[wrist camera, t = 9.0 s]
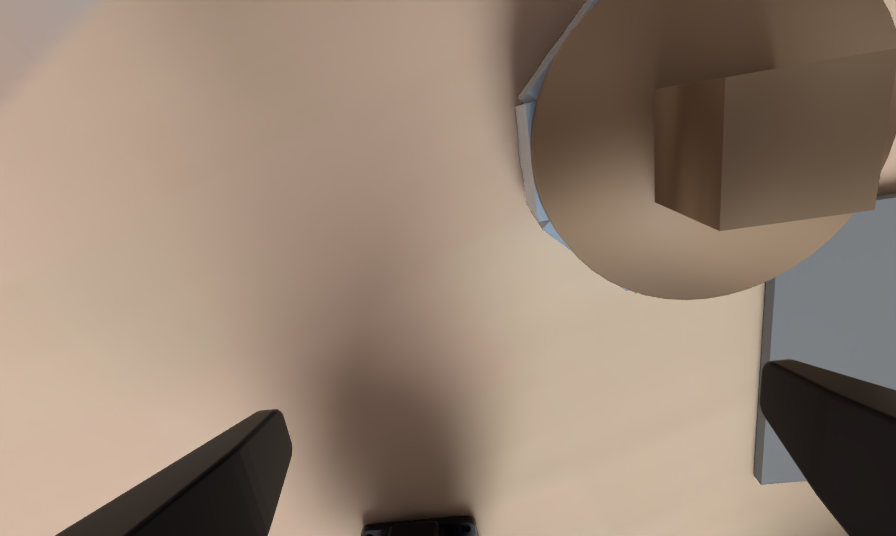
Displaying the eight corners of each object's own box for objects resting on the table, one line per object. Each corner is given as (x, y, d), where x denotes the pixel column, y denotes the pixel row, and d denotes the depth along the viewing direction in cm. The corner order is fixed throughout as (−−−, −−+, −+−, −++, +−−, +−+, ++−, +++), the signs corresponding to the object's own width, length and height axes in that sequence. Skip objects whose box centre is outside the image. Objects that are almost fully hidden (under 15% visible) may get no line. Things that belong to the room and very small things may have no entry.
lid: (843, 265, 15) (1011, 331, 10) (544, 303, 16) (575, 378, 11) (890, -88, 12) (1164, -224, 7) (513, -13, 12) (538, -89, 8)
